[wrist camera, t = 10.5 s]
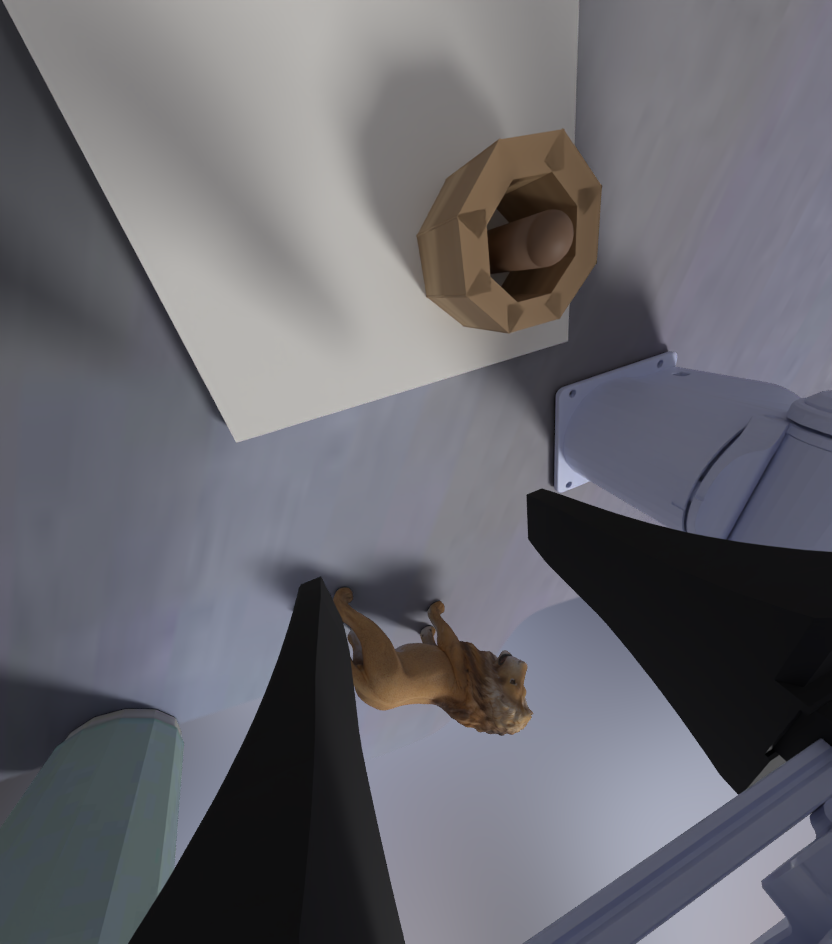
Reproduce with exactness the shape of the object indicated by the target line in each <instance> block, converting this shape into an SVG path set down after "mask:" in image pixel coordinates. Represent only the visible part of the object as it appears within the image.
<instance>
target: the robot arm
mask: <svg viewBox="0 0 832 944" xmlns="http://www.w3.org/2000/svg"><path fill="white" fill-rule="evenodd" d="M676 361H677V353H676V352H671V351H669V352H665V353H662V354H660V355H657V356H654V357H651V358H648V359H645V360H642V361H639V362H636V363H633V364H630V365H627V366H624V367H621V368H618V369H615V370H612V371H609V372H606V373H603V374H600V375H597V376H594V377H591V378H588V379H585V380H582V381H579V382H576V383H573V384H570V385H567V386H564V387H562V388H560V389H559V390H558V391H557V393H556V407H555V470H554V488H555V490H556V491H557V492H560V493H561V492H564V491H567V490H569V489H572V488H574V487H577V486H579V485H582V484H584V483H587V482H589V481H591V482H593V483H594V484H596V485H598V486H599V487H601V488H603V489H604V490H606V491H608V492H609V493H611V494H613V495H614V496H616V497H618V498H619V499H621V500H623V501H624V502H626V503H628V504H629V505H631V506H633V507H634V508H636V509H638V510H639V511H641V512H643V513H645V514H646V515H648V516H650V517H651V518H653V519H655V520H656V521H658V522H660V523H661V524H663V525H665V526H666V527H668V528H666V527H662V526H658V525H654V524H651V523H647V522H643V521H640V520H636V519H633V518H629V517H626V516H623V515H620V514H616V513H613V512H610V511H607V510H604V509H601V508H598V507H595V506H592V505H589V504H586V503H583V502H581V501H578V500H575V499H572V498H569V497H566V496H563V495H560V494H557V493H555V492H551V491H548V490H545V489H540V490H537V491H535V492H532V493H530V494H527V519H528V539H529V541H530V542H531V543H532V545H533V546H534V547H535V549H536V550H537V551H538V553H539V554H540V555H541V556H542V558H543V559H544V560H545V562H546V563H547V564H548V565H549V566H550V567H551V568H552V569H553V570H554V571H555V572H556V573H557V574H558V575H559V576H560V577H561V578H562V579H563V580H564V581H565V582H566V583H567V584H568V585H569V586H570V587H571V588H572V589H573V590H574V591H575V592H576V593H577V594H578V595H579V596H580V597H581V598H582V599H583V600H584V601H585V602H586V603H587V604H588V605H589V606H590V607H591V608H592V609H593V610H594V611H595V612H596V613H597V614H598V615H599V616H600V617H601V618H602V619H603V620H604V622H605V623H606V624H607V625H608V626H609V627H610V628H611V630H612V631H613V632H614V633H615V635H616V636H617V637H618V638H619V639H620V640H621V642H622V643H623V644H624V645H625V647H626V648H627V649H628V650H629V651H630V653H631V654H632V655H633V656H634V658H635V659H636V660H637V661H638V663H639V664H640V665H641V666H642V668H643V669H644V670H645V672H646V673H647V674H648V675H649V677H650V678H651V679H652V680H653V682H654V683H655V684H656V686H657V687H658V688H659V690H660V691H661V692H662V694H663V695H664V696H665V698H666V699H667V700H668V702H669V703H670V704H671V706H672V707H673V708H674V710H675V711H676V712H677V714H678V715H679V716H680V718H681V719H682V721H683V722H684V723H685V725H686V726H687V728H688V729H689V730H690V732H691V733H692V735H693V736H694V738H695V739H696V741H697V742H698V743H699V745H700V746H701V748H702V749H703V750H704V752H705V753H706V755H707V756H708V758H709V759H710V760H711V762H712V764H713V765H714V767H715V768H716V770H717V771H718V773H719V774H720V775H721V776H722V777H723V779H724V780H725V781H726V782H727V783H728V784H729V785H730V786H731V787H732V788H733V790H734V791H735V792H736V793H737V794H738V796H736V797H735V798H733V799H732V800H730V801H729V802H728V803H726V804H725V805H723V806H722V807H720V808H719V809H717V810H716V811H714V812H713V813H712V814H710V815H709V816H707V817H706V818H705V819H703V820H702V821H700V822H699V823H698V824H696V825H694V826H693V827H691V828H690V829H688V830H687V831H685V832H684V833H683V834H681V835H680V836H678V837H677V838H675V839H674V840H672V841H671V842H670V843H668V844H667V845H665V846H664V847H662V848H661V849H659V850H658V851H657V852H655V853H654V854H652V855H651V856H649V857H648V858H646V859H645V860H643V861H642V862H641V863H639V864H638V865H636V866H635V867H633V868H632V869H630V870H629V871H628V872H626V873H625V874H623V875H622V876H620V877H619V878H617V879H616V880H614V881H613V882H612V883H610V884H609V885H607V886H606V887H604V888H603V889H601V890H600V891H598V892H597V893H596V894H594V895H593V896H591V897H590V898H589V899H587V900H585V901H584V902H583V903H581V904H580V905H578V906H577V907H575V908H574V909H572V910H571V911H570V912H568V913H567V914H565V915H564V916H562V917H561V918H559V919H558V920H557V921H555V922H554V923H552V924H551V925H549V926H548V927H546V928H545V929H543V930H542V931H540V932H539V933H538V934H536V935H535V936H533V937H532V938H530V939H529V940H527V941H526V942H525V943H523V944H636V943H637V942H639V941H640V940H641V939H643V938H644V937H645V936H647V935H648V934H649V933H651V932H652V931H654V930H655V929H656V928H658V927H659V926H660V925H662V924H663V923H664V922H666V921H667V920H668V919H670V918H671V917H672V916H673V915H675V914H676V913H678V912H679V911H680V910H682V909H683V908H684V907H686V906H687V905H688V904H690V903H691V902H692V901H694V900H695V899H696V898H698V897H699V896H701V895H702V894H703V893H705V892H706V891H707V890H709V889H710V888H711V887H713V886H714V885H715V884H717V883H718V882H719V881H721V880H722V879H723V878H725V877H726V876H727V875H729V874H730V873H731V872H733V871H734V870H735V869H737V868H738V867H740V866H741V865H742V864H743V863H745V862H746V861H747V860H749V859H750V858H752V857H753V856H754V855H756V854H757V853H758V852H760V851H761V850H762V849H764V848H765V847H766V846H768V845H769V844H770V843H772V842H773V841H774V840H776V839H777V838H778V837H780V836H781V835H782V834H784V833H785V832H787V831H788V830H789V829H791V828H792V827H793V826H795V825H796V824H797V823H798V822H800V821H801V820H803V819H804V818H805V817H807V816H808V815H809V814H811V815H810V821H811V824H812V826H813V828H814V830H815V833H816V839H815V840H814V841H813V842H812V843H810V844H809V845H808V846H806V847H805V848H803V849H802V850H801V851H799V852H798V853H797V854H795V855H794V856H793V857H791V858H790V859H788V860H787V861H786V862H785V863H783V864H782V865H781V866H779V867H778V868H777V869H776V870H775V871H773V872H772V873H771V874H769V875H768V876H767V877H766V878H765V879H763V880H762V881H761V882H762V887H763V889H764V890H765V891H766V893H767V894H768V895H769V896H770V898H771V899H772V900H773V901H774V903H775V904H776V905H777V906H778V907H779V909H780V910H781V911H782V912H783V914H784V915H785V916H786V917H785V918H784V919H782V920H781V921H780V922H778V923H777V924H776V925H775V926H773V927H772V928H770V929H769V930H768V931H767V932H765V933H764V934H763V935H761V936H760V937H759V938H757V939H756V940H755V941H753V942H752V943H751V944H832V390H828V391H822V392H820V393H817V394H814V395H812V396H809V397H807V398H800V397H799V396H798V395H796V394H795V393H794V392H792V391H790V390H788V389H786V388H784V387H782V386H779V385H776V384H772V383H768V382H762V381H756V380H750V379H745V378H739V377H733V376H727V375H721V374H716V373H710V372H704V371H698V370H692V369H686V368H681V367H675V366H676ZM571 391H572V392H571ZM570 392H571V394H570ZM569 394H570V395H569ZM128 944H405V941H404V936H403V932H402V928H401V924H400V920H399V916H398V911H397V907H396V903H395V899H394V895H393V890H392V886H391V882H390V877H389V873H388V869H387V864H386V860H385V855H384V851H383V846H382V842H381V837H380V833H379V828H378V824H377V819H376V814H375V810H374V805H373V800H372V796H371V792H370V786H369V782H368V777H367V772H366V767H365V762H364V757H363V752H362V747H361V740H360V734H359V727H358V718H357V710H356V701H355V692H354V684H353V675H352V667H351V659H350V651H349V646H348V642H347V637H346V633H345V629H344V625H343V621H342V618H341V616H340V614H339V611H338V609H337V607H336V605H335V603H334V601H333V599H332V597H331V595H330V593H329V591H328V589H327V587H326V585H325V583H324V581H323V579H322V577H318V578H316V579H313V580H311V581H308V582H306V583H303V584H301V586H300V587H299V590H298V594H297V598H296V602H295V606H294V610H293V613H292V617H291V620H290V624H289V627H288V630H287V633H286V636H285V639H284V642H283V645H282V649H281V652H280V655H279V657H278V660H277V663H276V666H275V668H274V671H273V673H272V676H271V679H270V681H269V684H268V687H267V689H266V692H265V694H264V697H263V699H262V701H261V704H260V706H259V709H258V711H257V713H256V715H255V718H254V720H253V722H252V724H251V726H250V729H249V731H248V733H247V735H246V738H245V739H244V742H243V744H242V746H241V748H240V750H239V752H238V754H237V756H236V758H235V760H234V762H233V764H232V766H231V768H230V770H229V772H228V774H227V776H226V778H225V780H224V782H223V783H222V785H221V787H220V789H219V791H218V793H217V795H216V797H215V799H214V800H213V802H212V804H211V806H210V807H209V809H208V811H207V813H206V815H205V816H204V818H203V820H202V821H201V823H200V825H199V827H198V828H197V830H196V832H195V834H194V835H193V837H192V839H191V841H190V842H189V844H188V846H187V848H186V850H185V851H184V853H183V855H182V857H181V858H180V860H179V862H178V864H177V865H176V867H175V869H174V870H173V872H172V874H171V875H170V877H169V879H168V880H167V882H166V884H165V885H164V887H163V888H162V890H161V892H160V893H159V895H158V896H157V898H156V900H155V901H154V903H153V904H152V906H151V907H150V909H149V911H148V912H147V914H146V915H145V917H144V919H143V920H142V922H141V923H140V925H139V927H138V928H137V930H136V931H135V933H134V934H133V936H132V938H131V939H130V941H129V942H128Z"/></svg>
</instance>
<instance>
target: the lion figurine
mask: <svg viewBox="0 0 832 944" xmlns="http://www.w3.org/2000/svg"><path fill="white" fill-rule="evenodd" d="M352 600H353V593H352V591H351V590H350V589H349V588H346V587H344V588H340V589H339V590H338V591H337V592H336V593H335V595H334V598H333V601H334V603H335V605H336V607H337V609H338V611H339V614H340V616H341V618H342V621H343V622H344V623H346V624H347V625H348V626H350V628H351V630H350V632H349V634H348V637H347V638H348V641H349V643H350V644H351V646H352V648H353V661H352V659H351V657H350V659H351V667H352V675H353V684H354V686H355V690H356V693H357V694H358V696H359V697H360V699H361V700H362V701H364V702H365V703H366V704H368V705H370V706H372V707H374V708H376V709H379V710H388V709H392V708H395V707H398V706H402V705H408V704H434V705H437V706H439V707H441V708H442V709H443V710H444V711H445V712H447V713H448V714H449V715H450V717H451V718H453V719H455V720H456V721H457V722H458V723H460V724H462V725H464V726H465V727H472V728H475V729H476V730H477V731H478V732H486V733H488V734H499V735H501V736H502V735H504V734H511V735H513V734H514V733H517V732H519V731H520V730H522V729H524V727H525V726H526V725H527V723H528V721H529V720H530V719H531V718H532V717H531V715H532V714H533V712H532V711H531V710H530V709H529V708H528V705H527V702H526V699H525V695H526V689H525V687H524V685H523V684H524V679H525V674H526V671H527V664H526V663H525V662H523V661H521V660H519V659H517V658H515V657H513V656H512V655H511V654H510V653H509V652H508V651H506V650H504V651H502V652H501V654H500V655H499V657H498V658H497V657H496V656H495V655H494V654H492V653H491V652H490V651H479V650H478V649H477V648H476V647H475V646H474V645H473V644H472V643H469V642H463V641H459V640H458V638H457V636H456V635H455V633H454V632H453V630H452V629H451V628H450V626H449V625H448V624H447V623H446V622H445V621H444V620H443V619H442V618H441V616H440V614H441V613H443V612H444V610H445V609H444V604H443V603H442V602H441V601H437V602H435V603H433V604H432V605H431V606H430V608H429V609H428V612H427V613H428V617H429V619H430V621H431V623H432V624H433V626H434V627H435V628H434V627H432V626H427V627H425V628H424V629H422V630H421V633H420V636H421V640H422V642H423V643H410V644H405V645H402V646H400V647H398V648H396V649H394V647H393V645H392V643H391V641H390V639H389V638H388V637H387V636H386V634H385V633H384V632H383V631H382V630H381V629H380V628H379V626H378V625H376V624H375V623H374V622H373V621H371V620H370V619H369V618H367V617H365V616H364V615H362V614H361V613H359V612H357V611H356V610H354V609H353V608H352V607H350V606H349V605H348V603H349V602H351V601H352ZM435 629H436V631H437V645H436V643H435V641H434V637H433V636H434V633H435Z"/></svg>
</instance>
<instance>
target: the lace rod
mask: <svg viewBox="0 0 832 944" xmlns="http://www.w3.org/2000/svg"><path fill="white" fill-rule="evenodd" d="M573 234H574V232H573V224H572V222H571V220H570V218H569V217H568V215H567V214H565V213H564V212H562V211H560V210H556V209H550V210H546V211H543V212H540V213H537V214H534V215H531V216H528V217H525V218H522V219H519V220H516V221H514V222H511V223H508V224H505V225H502V226H499V227H496V228H493V229H490V230H487V237H488V251H489V265H490V274H495V273H503V272H511V271H519V270H527V269H536V268H544V267H549V266H552V265H554V264H556V263H557V262H559V261H560V260H561V259H562V258H563V257H564V256H565V255H566V254H567V252H568V250H569V249H570V246H571V244H572V241H573Z"/></svg>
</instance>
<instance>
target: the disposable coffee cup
mask: <svg viewBox="0 0 832 944" xmlns="http://www.w3.org/2000/svg"><path fill="white" fill-rule="evenodd" d="M183 748H184V742H183V739H182V737H181V730H180V728H179V725H178V723H177V720H176V718H174V717H172V716H170V715H167V714H165V713H163V712H161V711H158V710H156V709H123V710H120V711H116V712H112V713H109V714H105V715H101V716H98V717H94V718H92V719H91V720H89V721H88V722H86V723H85V724H83V725H82V726H80V727H79V728H77V729H76V730H74V731H73V732H71V733H70V734H69V735H68V737H67V738H66V740H65V741H64V742H62V743H61V744H59V745H58V746H57V747H56V748H55V749H54V751H53V752H52V754H51V755H50V757H49V758H48V760H47V761H46V763H45V764H44V765H43V767H42V768H41V770H40V771H39V773H38V774H37V776H36V777H35V779H34V780H33V781H32V783H31V784H30V786H29V787H28V789H27V790H26V792H25V793H24V795H23V796H22V797H21V799H20V800H19V802H18V803H17V805H16V806H15V808H14V809H13V810H12V812H11V813H10V815H9V816H8V818H7V819H6V821H5V822H4V824H3V825H2V826H1V828H0V944H128V942H129V941H130V939H131V938H132V936H133V934H134V933H135V931H136V930H137V928H138V927H139V925H140V923H141V922H142V920H143V919H144V917H145V915H146V914H147V912H148V911H149V909H150V907H151V906H152V904H153V903H154V901H155V900H156V898H157V896H158V895H159V893H160V892H161V890H162V888H163V887H164V885H165V884H166V882H167V880H168V879H169V877H170V875H171V874H172V872H173V870H174V863H175V851H176V838H177V826H178V813H179V800H180V787H181V775H182V762H183Z"/></svg>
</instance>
